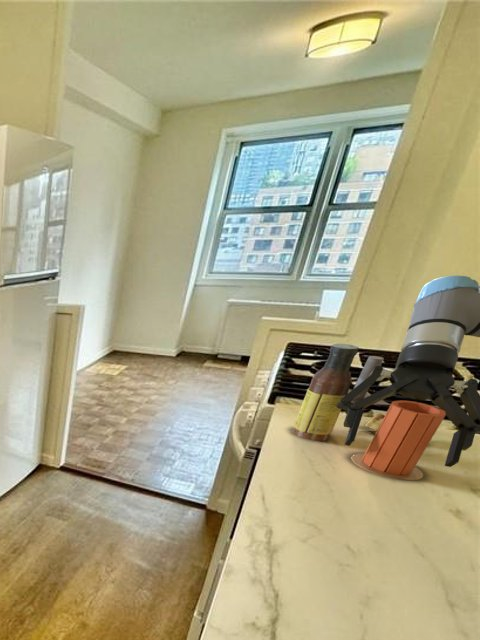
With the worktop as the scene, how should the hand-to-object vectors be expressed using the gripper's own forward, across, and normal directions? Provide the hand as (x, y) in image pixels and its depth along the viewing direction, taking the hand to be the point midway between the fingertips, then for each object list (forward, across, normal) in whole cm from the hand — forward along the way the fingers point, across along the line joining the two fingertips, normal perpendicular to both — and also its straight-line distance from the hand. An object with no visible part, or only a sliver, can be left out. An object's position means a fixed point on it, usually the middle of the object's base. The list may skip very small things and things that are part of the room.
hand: (398, 453), depth 88 cm
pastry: (-12, -2, -18) cm, 22 cm away
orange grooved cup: (+1, 0, -4) cm, 4 cm away
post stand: (-25, +3, -31) cm, 40 cm away
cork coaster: (+1, 0, -5) cm, 5 cm away
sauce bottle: (-4, +12, -11) cm, 16 cm away
